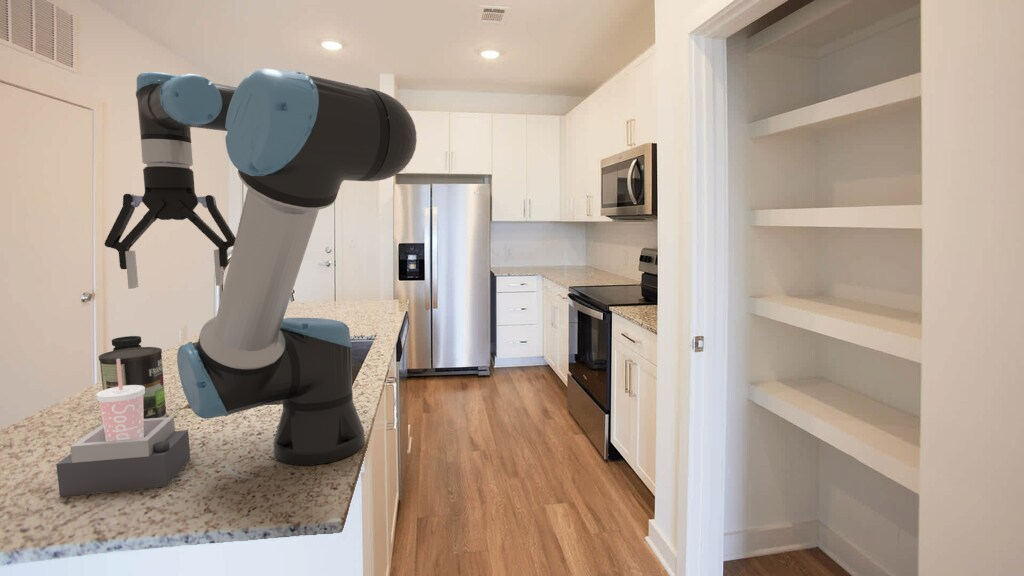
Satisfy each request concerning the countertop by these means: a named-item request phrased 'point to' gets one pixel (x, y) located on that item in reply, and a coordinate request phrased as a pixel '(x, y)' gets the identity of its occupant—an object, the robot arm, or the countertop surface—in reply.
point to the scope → (126, 342)
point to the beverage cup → (122, 410)
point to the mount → (124, 460)
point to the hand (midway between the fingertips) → (177, 286)
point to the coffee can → (137, 375)
